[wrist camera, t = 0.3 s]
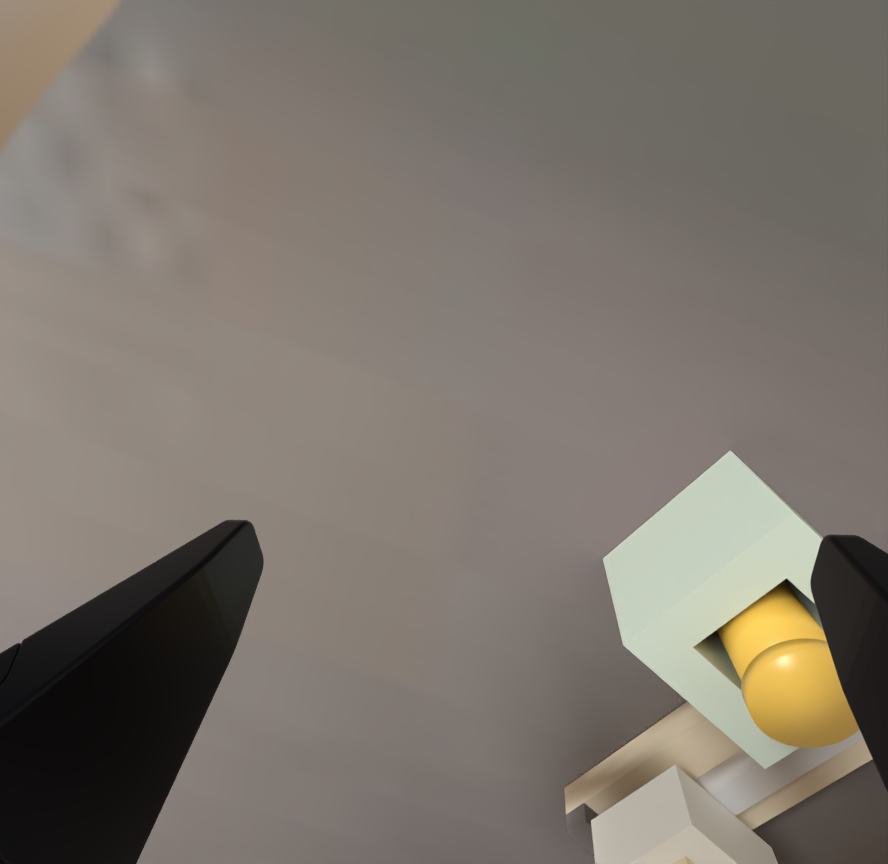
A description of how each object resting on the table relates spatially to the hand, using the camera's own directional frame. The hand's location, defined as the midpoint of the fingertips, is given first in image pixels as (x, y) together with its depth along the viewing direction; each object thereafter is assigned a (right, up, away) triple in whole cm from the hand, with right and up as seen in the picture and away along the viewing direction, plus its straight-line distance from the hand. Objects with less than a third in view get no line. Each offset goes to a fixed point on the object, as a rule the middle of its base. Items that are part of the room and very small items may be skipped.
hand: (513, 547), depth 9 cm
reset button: (+10, -4, +13) cm, 17 cm away
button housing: (+11, -4, +15) cm, 19 cm away
